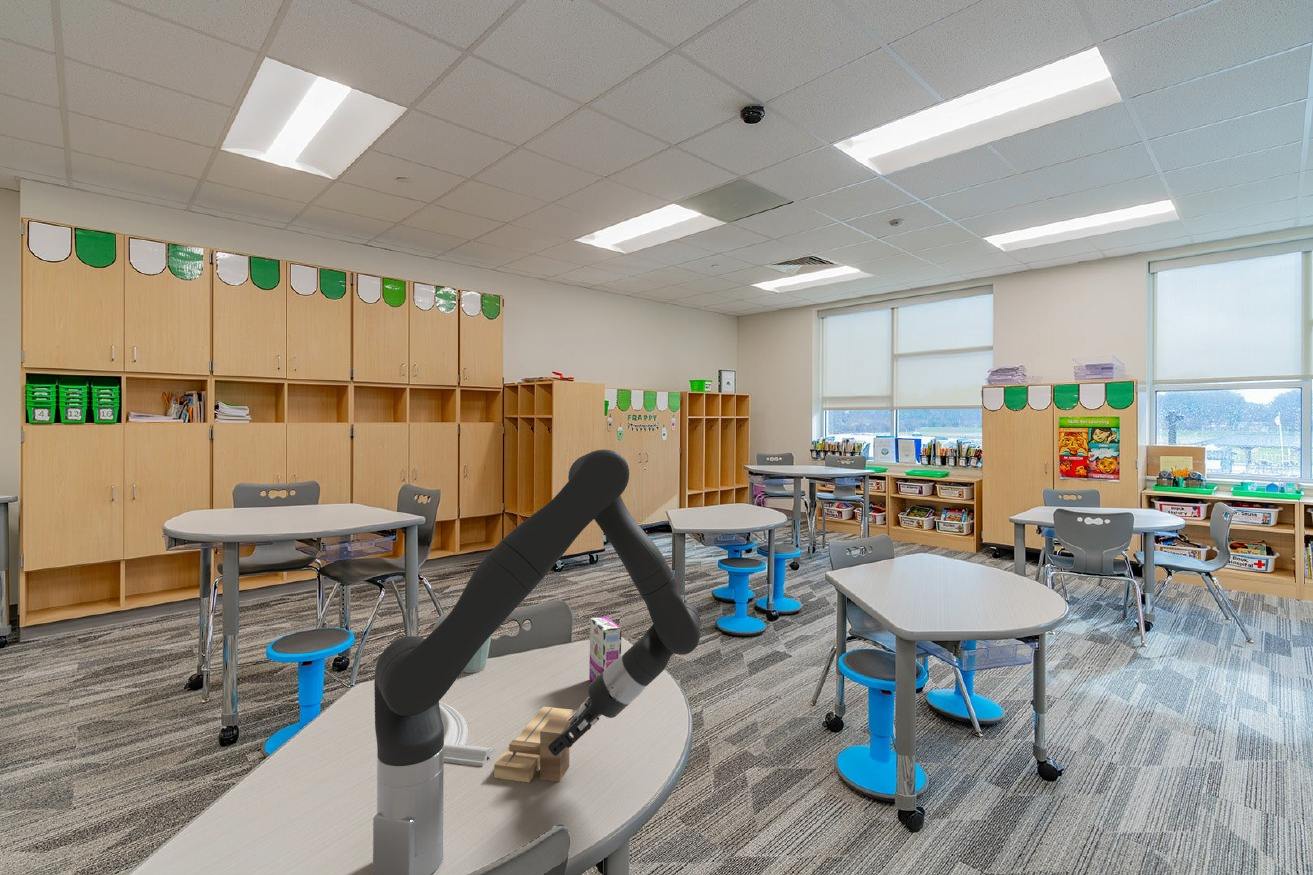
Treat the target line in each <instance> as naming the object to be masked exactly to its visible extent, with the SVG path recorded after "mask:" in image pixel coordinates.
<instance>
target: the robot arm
mask: <svg viewBox="0 0 1313 875" xmlns="http://www.w3.org/2000/svg"><path fill="white" fill-rule="evenodd" d="M629 468H630V466H629V464H628V461H627V459H626V458H625V457H624V456H623V455H622V454H621V453H619V452H617V451H614V450H612V449H597V450H593V451H591V452H588V453H586V454H585V455H582V456H580V457H579V458H577V459H575V461H573V463H572V464H571V466H570V468H569V470H568V476H567V477H568V481H567V482H566V483H565V485H564V486H563V487H562V488H561V489H560V491H559V492H558V493H557V494H556V495H555V496H554V497H553V498H552V499H550V501H549V502H548V503H546V504H545V505H544V506H543V507H542V508H540V509H539V510H537V511H536V512H534V513H533V514H532V515H531V516H529V517H528V518H527V519H525V520H523V521H522V522H521V523H520V524H519V525H517V526H516V527H515V528H514V529H513V530H511V531H510V532H509V533H508V534H507V535H506V536H505V537H504V538H502V539H501V541H499V543H497V545H496V546H495V547H494V548H493V549H491V551H490V552H489V553H488V554H487V555H486V556H485V557H484V558H483V559H482V561H481V562H479V564H478V566H477V567H476V569H475V570H474V571H473V573H472V574H471V576H470V578H469V580H468V581H467V584H466V585H465V587H464V589H463V591H462V593H461V595H460V597H459V598H458V600H457V602H456V604H455V605H454V607H453V608H452V610H450V612H449V613H448V614H447V617H445V618H444V619H443V621H442V622H441V623H440V624H439V625H438V626H437V627H435V629H434V630H433V631H432V632H430V634H429V635H428V636H427V637H426V638H423V637H421V636H416V635H413V636H412V635H409V636H404V637H401V638H398V639H396V640H394V641H392V643H389V645H387V647H386V648H385V649H384V650H383V651H382V652H381V654H380V656H379V657H378V659H377V662H376V664H375V665H376V666H375V671H374V684H373V685H374V688H373V689H374V730H375V738H376V745H377V746H376V748H377V754H376V756H377V760H376V761H377V762H376V764H377V766H376V768H377V770H376V771H377V772H376V773H377V774H376V775H377V776H376V814H375V815H373V816H374V817H373V819H372V875H432V874H433V873H434V872H435V871H436V870H438V868H439V867H440V865H441V864H442V862H443V858H444V771H445V770H444V769H445V768H444V765H445V764H444V763H445V762H444V727H443V722H442V718H441V714H440V707H439V701H441V700H442V698H443V697H444V696H445V695H446V694H447V692H448V691H449V690H450V688H451V687H452V686H453V684H454V683H455V682H456V680H457V679H458V678H459V676H460V675H461V674H462V673H463V672H464V671H463V670H464V668H465V667H466V666H467V664H468V663H469V662H470V660H471V659H472V658H473V656H474V655H475V654H476V652H477V651H478V650H479V648H480V647H481V646H482V645H483V644H484V642H485V641H486V640H487V639H488V638H489V637H490V636H491V637H492V635H493V634H494V632H496V631H497V630H498V629H499V627H500V626H501V625H502V624H503V623H504V621H506V620H507V619H508V617H509V616H510V615H511V614H512V613H513V612H514V611H515V610H516V608H517V607H518V606H519V605H520V604H521V603H522V602H523V601H524V600H525V599H526V598H527V597H528V596H529V594H531V593H532V592H533V590H534V589H536V587H537V585H539V584H540V583H541V582H542V580H543V579H544V578H545V577H546V575H547V574H548V573H549V572H550V571H551V569H553V567H554V566H555V565H556V563H558V561H559V560H560V559H561V558H562V556H564V554H565V553H566V552H567V550H569V548H570V547H571V545H572V544H573V543H574V541H575V540H576V539H577V538H578V537H579V535H580V534H581V533H582V532H583V531H584V530H585V529H586V527H588V525H589V524H590V523H591V522H593V521H594V522H595V523H596V524H597V525H598V527H599V529H600V530H601V531H602V533H603V534H604V535H605V537H606V538H607V540H608V541H609V543H610V545H611V546H612V548H613V549H614V551H615V553H616V554H617V556H618V558H619V559H620V561H621V563H622V564H623V566H624V568H625V570H626V571H627V574H628V575H629V577H630V579H631V581H632V582H633V584H634V587H635V588H636V590H637V592H638V593H639V595H640V597H641V598H642V600H643V602H644V603H645V605H646V607H647V610H648V613H649V614H648V615H649V617H650V619H651V622H652V624H651V626H650V627H649V628H648V629H647V631H646V632H645V634H644V635H643V636H642V637H641V638H640V639H639V640H637V642H635V643H634V644H633V645H632V646H631V647H630V648H629V649H628V650H627V651H625V652H624V653H623V654H621V657H620V658H618V659H617V660H615V661H614V662H613V663H612V664H611V665H610V666H609V667H608V668H607V669H605V670H604V671H603V672H602V673H601V674H600V675H599V676H598V677H597V678H596V679H595V680H594V681H593V682H591V681H590V683H589V685H588V688H587V694H588V697H587V698H586V699H585V700H584V701H583V702H582V703H581V705H579V707H578V710H577V711H576V712H575V713H574V714H573V716H572V717H571V718H570V719H569V720H568V721H569V726H568V727H567V728H566V729H565V730H564V731H562V732H561V735H559V736H558V737H557V738H556V739H555V740H554V741H553V742H552V743H551V744H550V745H549V746H548V749H549V750H550V751H551V753H552V754H553V755H554V756H557V755H558V754H559V753H560V752H561V751H562V750H563V749H564V748H565V747H566V746H567V748H569V749H570V748H572V746H573V745H574V744H575V743H576V742H577V741H578V740H579V739H580V738H581V737H582V736H584V735H585V733H587V732H588V731H589V730H591V728H592V726H594V725H596V724H597V723H598V722H599V720H601V718H600V717H601V716H604V717H605V718H609V719H613V718H615V717H617V716H618V715H619V714H620V713H621V712H622V711H623V710H625V709H626V708H627V707H628V706H629V705H630V704H631V703H632V702H633V701H635V700H636V699H637V697H639V696H640V695H641V694H642V693H643V691H644V690H645V689H646V687H648V686H649V684H651V683H652V682H653V681H655V679H656V678H657V677H659V675H660V674H662V672H664V670H665V669H666V668H667V666H668V663H669V662H670V659H671V658H672V656H673V654H675V655H679V656H680V655H681V656H686V655H688V654H690V653H692V652H693V651H694V650H695V649H696V648H697V647H698V644H699V641H700V638H701V616H700V614H699V611H698V610H697V607H695V606H694V605H692V604H691V603H687V602H684V600H683V599H682V596H681V593H680V588H679V583H678V581H677V578H676V576H675V575H674V573H673V571H672V569H671V568H670V565H669V564H668V562H667V560H666V558H665V556H664V555H663V554H662V552H661V551H660V549H659V547H657V545H656V544H655V542H654V541H653V539H652V538H651V537H649V535H648V534H647V533H646V532H645V531H644V529H642V527H641V526H640V525H639V524H638V522H637V521H636V520H635V518H634V517H633V516H632V515H631V512H630V511H629V510H628V508H627V506H626V505H625V503H624V500H623V498H622V494H623V493H624V492H625V490H626V488H627V487H628V483H629V480H630V469H629ZM569 732H570V734H571V735H569Z"/></svg>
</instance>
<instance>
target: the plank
mask: <svg viewBox="0 0 1313 875" xmlns="http://www.w3.org/2000/svg"><path fill="white" fill-rule="evenodd" d="M573 711H574V710H573V709H570V708H559V707H550V706H542V708H541V709H540V710H539V711H538V712H537V713H536V715H535V716H534V717H533V718H532V719H531V721H530V722H529V723H528V724H527V725H526V726H525V727H524V729H523V730H522V731H521V733H519V734H518V736H517V737H516V738H515V739H514V740H518V741H526V742H534V743H540V731H541V730H542V728H543V727H544V726H545V725H546V723H547V722H548V721H549V720H550V719H558V720H567V721H568V720H569V719H570V718H571V717H572V716H573V715H574V714H573ZM493 768H494V770H493V771H494V772H493V775H494V776H493V777H494V779H501V780H508V781H515V782H524V783H531V781H532V779H533V778H534V776H535V775H536V773H537V772H538V770H540V755H534V754H526V753H518V752H516V754H513V752H510V751H509V747H507V749H506V750H505V751H504V753H503V754H502V755H501V756H500V757H499V758H498V759H497V761H496V762H495V763H494V766H493Z"/></svg>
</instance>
